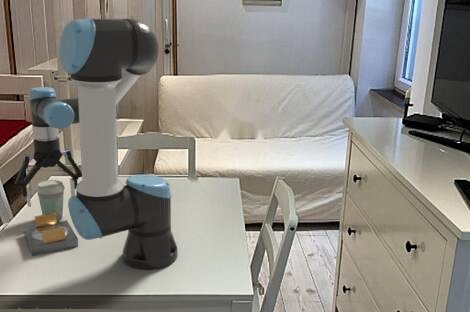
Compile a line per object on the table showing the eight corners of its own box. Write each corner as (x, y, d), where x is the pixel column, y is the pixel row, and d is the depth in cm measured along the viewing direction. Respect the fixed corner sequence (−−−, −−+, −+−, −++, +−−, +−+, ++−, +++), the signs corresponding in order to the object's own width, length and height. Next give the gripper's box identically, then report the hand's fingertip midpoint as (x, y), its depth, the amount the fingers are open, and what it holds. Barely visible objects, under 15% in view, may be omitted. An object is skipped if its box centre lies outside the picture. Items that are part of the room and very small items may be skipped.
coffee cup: (58, 225, 163) (55, 189, 159) (33, 222, 165) (30, 187, 161) (71, 214, 171) (69, 180, 167) (48, 212, 173) (45, 178, 169)
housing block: (78, 246, 150) (77, 227, 148) (32, 255, 144) (30, 236, 142) (67, 227, 162) (66, 209, 160) (24, 235, 156) (22, 217, 154)
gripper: (83, 130, 169) (87, 191, 175) (0, 139, 157) (8, 204, 163) (89, 136, 163) (93, 199, 169) (3, 145, 151) (11, 212, 157)
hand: (51, 201), depth 166 cm, fingers open, 13 cm apart
